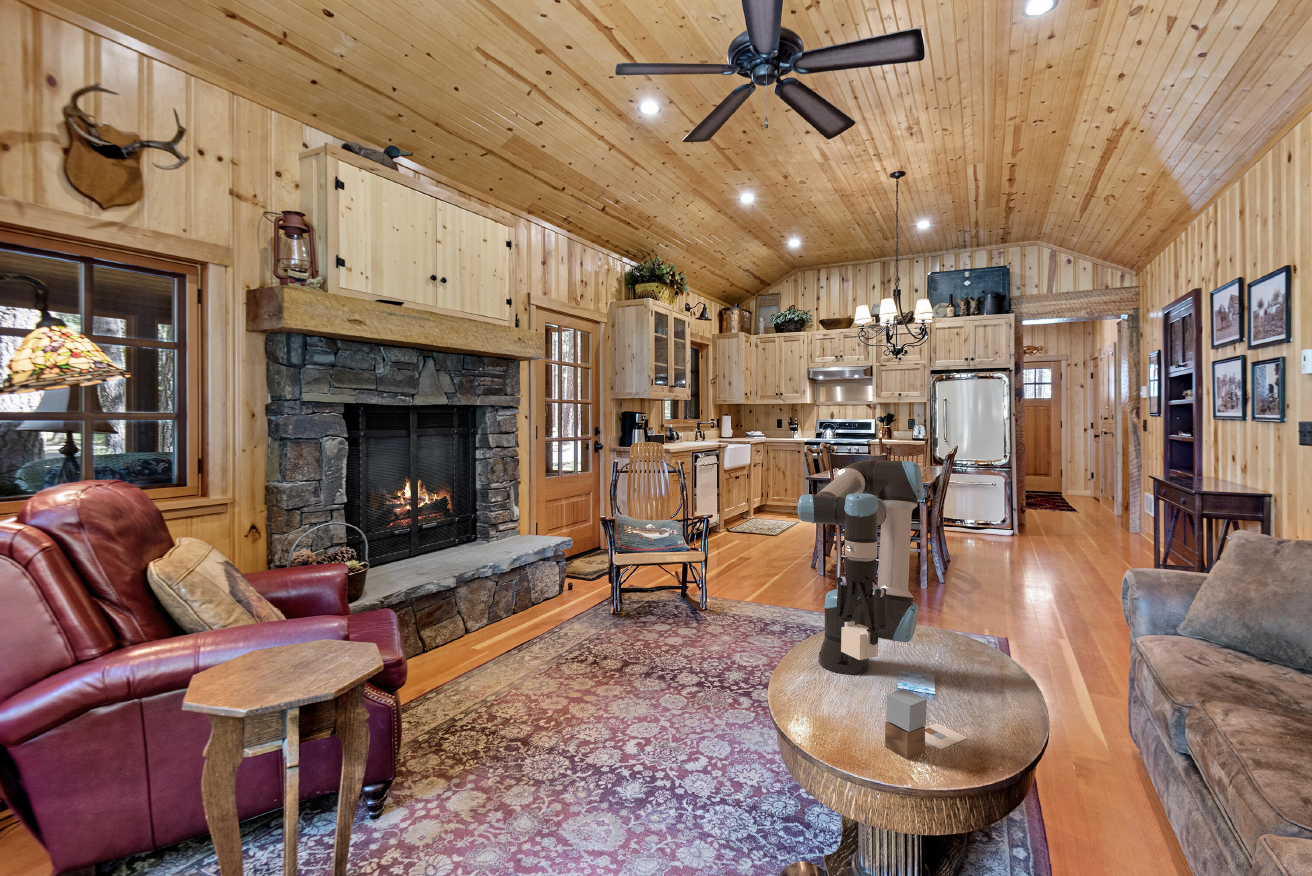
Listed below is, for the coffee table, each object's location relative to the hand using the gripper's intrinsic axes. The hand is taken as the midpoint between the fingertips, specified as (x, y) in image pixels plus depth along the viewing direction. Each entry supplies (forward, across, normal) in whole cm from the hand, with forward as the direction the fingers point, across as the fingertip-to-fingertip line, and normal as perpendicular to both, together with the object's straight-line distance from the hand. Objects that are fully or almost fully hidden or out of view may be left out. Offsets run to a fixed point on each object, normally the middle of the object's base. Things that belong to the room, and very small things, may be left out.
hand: (859, 652), depth 145 cm
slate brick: (+13, +12, +2) cm, 17 cm away
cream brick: (0, 0, 0) cm, 1 cm away
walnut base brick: (+19, +11, +2) cm, 23 cm away
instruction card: (+19, +11, +14) cm, 26 cm away
